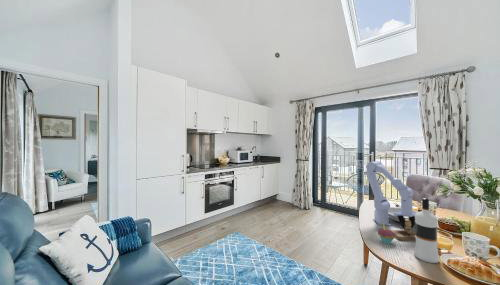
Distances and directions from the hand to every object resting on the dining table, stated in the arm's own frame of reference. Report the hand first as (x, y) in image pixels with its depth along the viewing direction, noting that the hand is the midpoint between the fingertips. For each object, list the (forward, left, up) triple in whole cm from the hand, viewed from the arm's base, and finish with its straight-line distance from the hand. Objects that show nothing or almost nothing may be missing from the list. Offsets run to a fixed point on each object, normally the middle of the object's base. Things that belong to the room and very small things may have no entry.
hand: (407, 227), depth 126 cm
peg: (0, 0, -2) cm, 2 cm away
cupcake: (+16, -20, -3) cm, 26 cm away
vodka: (+31, -9, -3) cm, 32 cm away
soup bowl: (-17, +7, -3) cm, 19 cm away
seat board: (+8, -3, -2) cm, 9 cm away
